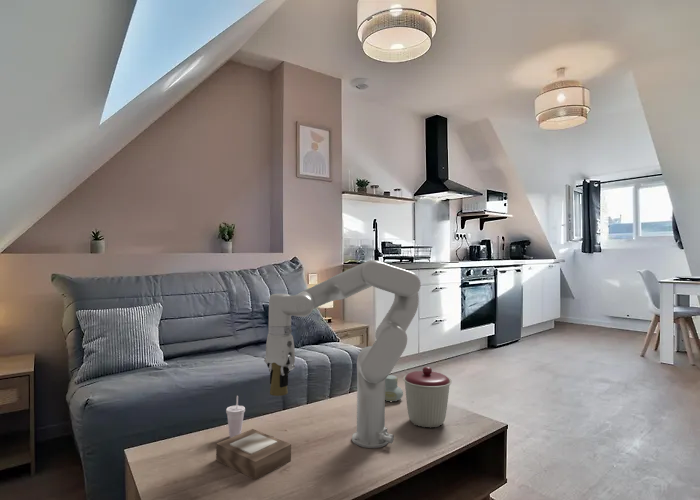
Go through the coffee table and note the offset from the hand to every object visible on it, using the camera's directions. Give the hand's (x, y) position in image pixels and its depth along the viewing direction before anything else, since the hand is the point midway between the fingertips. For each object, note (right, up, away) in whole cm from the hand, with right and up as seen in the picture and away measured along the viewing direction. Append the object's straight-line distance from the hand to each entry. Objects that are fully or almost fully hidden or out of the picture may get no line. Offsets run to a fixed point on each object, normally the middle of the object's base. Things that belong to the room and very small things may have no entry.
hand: (278, 384), depth 141 cm
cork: (0, -3, 0) cm, 3 cm away
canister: (+53, -20, +18) cm, 60 cm away
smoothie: (-16, -19, +3) cm, 25 cm away
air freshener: (+42, -21, +43) cm, 63 cm away
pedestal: (-6, -19, -13) cm, 24 cm away
